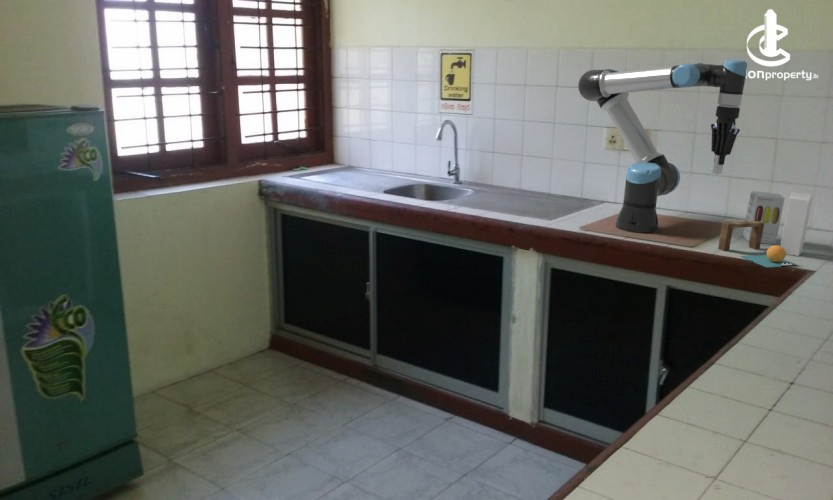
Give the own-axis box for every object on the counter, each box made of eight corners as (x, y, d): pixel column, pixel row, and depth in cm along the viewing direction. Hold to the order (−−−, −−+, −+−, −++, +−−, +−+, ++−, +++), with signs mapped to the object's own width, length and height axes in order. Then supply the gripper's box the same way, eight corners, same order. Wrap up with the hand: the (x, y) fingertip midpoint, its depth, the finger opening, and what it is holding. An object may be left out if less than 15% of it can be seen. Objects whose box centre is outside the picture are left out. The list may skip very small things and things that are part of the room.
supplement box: (748, 242, 263) (756, 195, 258) (741, 235, 271) (749, 190, 267) (776, 244, 261) (785, 197, 256) (769, 237, 270) (777, 192, 265)
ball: (777, 251, 234) (765, 243, 239) (772, 266, 237) (760, 257, 242) (791, 249, 236) (779, 241, 241) (786, 264, 239) (774, 256, 243)
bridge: (724, 251, 250) (728, 224, 247) (718, 248, 253) (722, 222, 250) (759, 249, 254) (764, 222, 251) (753, 246, 257) (758, 220, 254)
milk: (782, 249, 255) (794, 185, 249) (802, 252, 252) (814, 188, 246) (778, 252, 251) (790, 188, 245) (798, 256, 247) (811, 191, 241)
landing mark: (766, 267, 233) (767, 267, 233) (740, 256, 244) (740, 255, 244) (797, 265, 237) (798, 265, 237) (770, 254, 248) (770, 254, 248)
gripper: (750, 108, 253) (738, 177, 260) (726, 104, 265) (715, 169, 272) (731, 108, 251) (719, 177, 258) (707, 103, 263) (697, 169, 270)
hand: (717, 173), depth 265 cm, fingers closed
